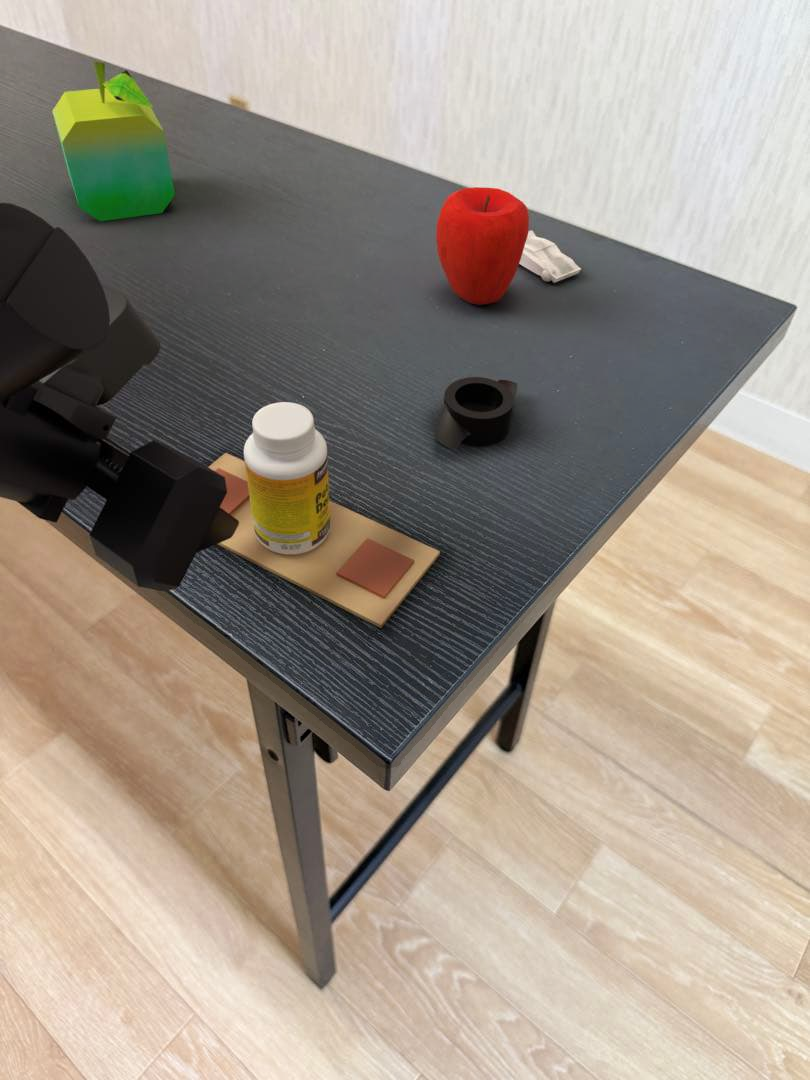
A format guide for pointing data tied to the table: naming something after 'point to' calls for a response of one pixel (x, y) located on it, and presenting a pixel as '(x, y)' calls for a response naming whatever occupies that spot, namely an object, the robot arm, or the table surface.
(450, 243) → the apple
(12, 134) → the table surface
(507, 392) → the black hollow round piece
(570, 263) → the toy car
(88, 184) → the yellow-green faceted fruit
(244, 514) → the wood board
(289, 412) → the supplement bottle
